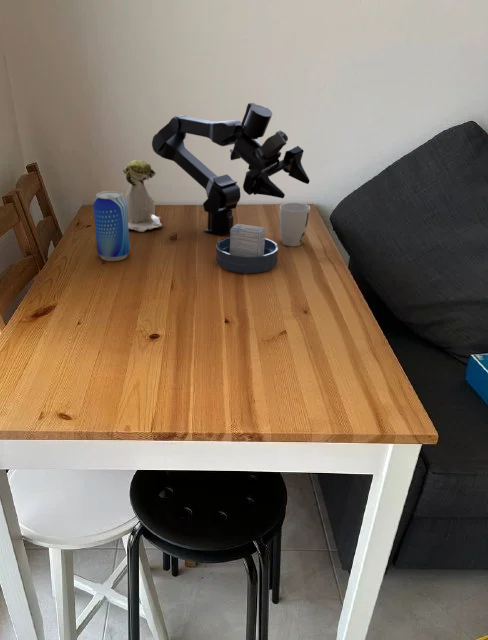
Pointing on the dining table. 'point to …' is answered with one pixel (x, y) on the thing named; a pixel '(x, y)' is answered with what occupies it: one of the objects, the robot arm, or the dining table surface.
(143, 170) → the white figurine
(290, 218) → the cup
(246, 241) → the medicine box
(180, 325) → the dining table surface
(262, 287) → the dining table surface
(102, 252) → the beer can
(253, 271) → the bowl
